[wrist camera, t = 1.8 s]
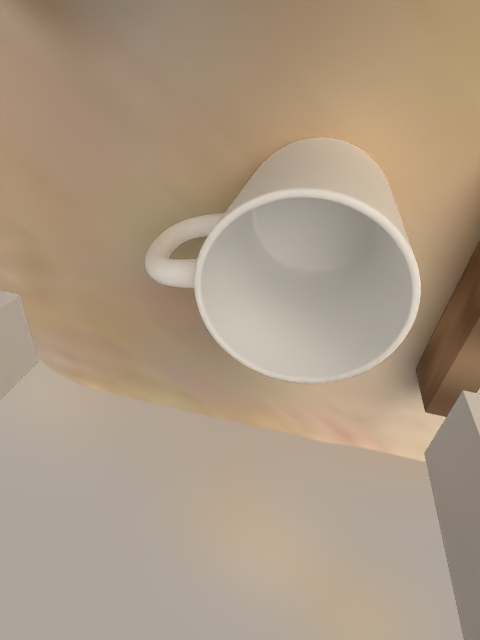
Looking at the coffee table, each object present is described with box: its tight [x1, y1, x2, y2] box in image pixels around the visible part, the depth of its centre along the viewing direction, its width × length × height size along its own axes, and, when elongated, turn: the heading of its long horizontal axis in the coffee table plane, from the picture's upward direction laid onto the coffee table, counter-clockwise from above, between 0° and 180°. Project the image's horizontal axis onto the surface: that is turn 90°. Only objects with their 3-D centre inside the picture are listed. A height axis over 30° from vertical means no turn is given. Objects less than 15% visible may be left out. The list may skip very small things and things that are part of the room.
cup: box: [145, 137, 421, 384], centre depth 19 cm, size 8×12×10 cm
